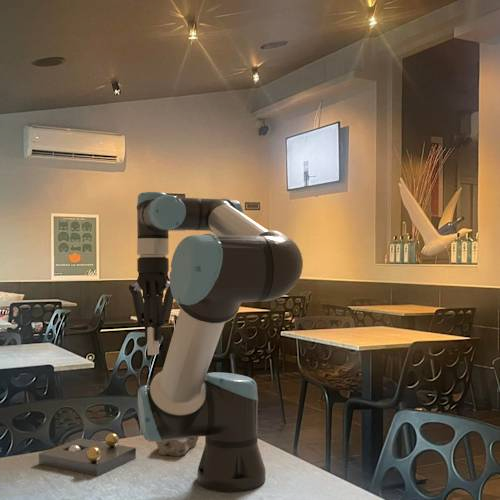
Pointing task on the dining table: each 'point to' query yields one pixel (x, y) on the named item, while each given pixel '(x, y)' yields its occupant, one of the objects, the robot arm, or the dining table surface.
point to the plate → (79, 460)
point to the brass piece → (93, 454)
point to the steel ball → (74, 448)
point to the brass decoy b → (112, 439)
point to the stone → (176, 446)
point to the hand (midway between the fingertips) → (153, 354)
